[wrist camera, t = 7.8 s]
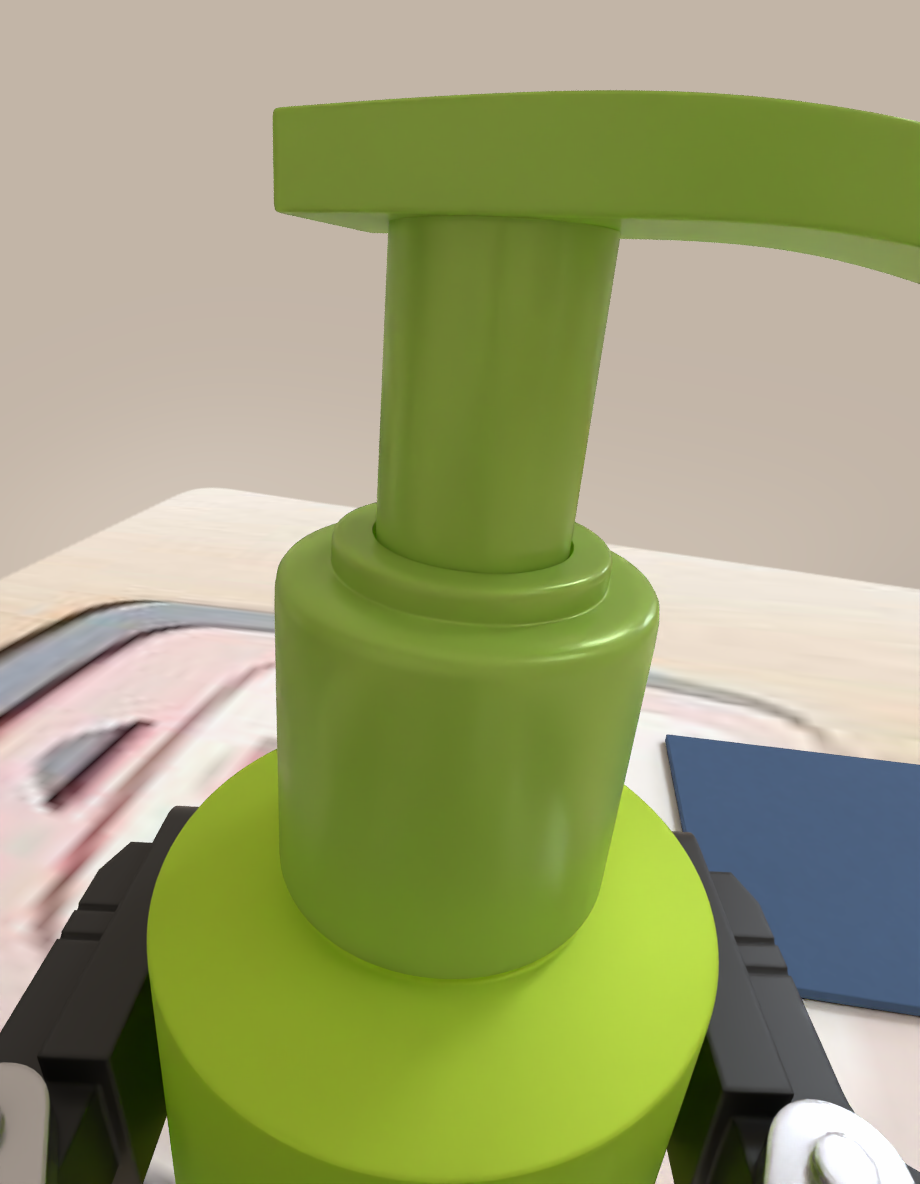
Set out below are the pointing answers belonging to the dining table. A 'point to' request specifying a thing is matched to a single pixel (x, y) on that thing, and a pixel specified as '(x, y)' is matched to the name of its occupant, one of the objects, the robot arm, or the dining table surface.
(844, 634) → the dining table surface
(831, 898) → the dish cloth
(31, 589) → the dining table surface
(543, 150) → the soap dispenser
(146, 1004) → the robot arm
